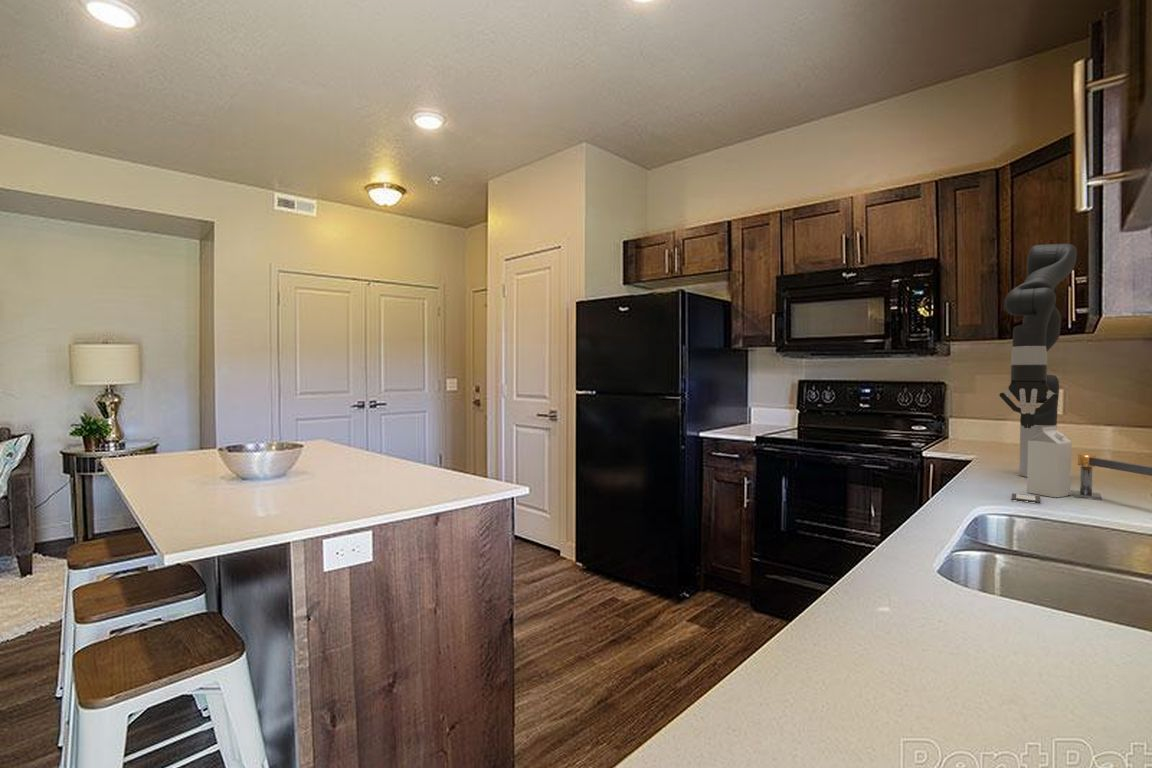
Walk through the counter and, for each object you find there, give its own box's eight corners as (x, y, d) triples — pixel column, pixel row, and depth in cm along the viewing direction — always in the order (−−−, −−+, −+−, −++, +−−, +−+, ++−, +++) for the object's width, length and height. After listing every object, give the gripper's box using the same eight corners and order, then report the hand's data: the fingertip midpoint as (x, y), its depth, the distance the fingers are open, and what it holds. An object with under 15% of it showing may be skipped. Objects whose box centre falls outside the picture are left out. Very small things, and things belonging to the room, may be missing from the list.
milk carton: (1026, 493, 160) (1028, 426, 159) (1040, 490, 163) (1042, 425, 162) (1056, 498, 153) (1058, 428, 153) (1070, 495, 156) (1072, 427, 156)
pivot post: (1070, 493, 160) (1071, 464, 159) (1099, 496, 156) (1100, 466, 156) (1072, 496, 155) (1072, 467, 155) (1101, 499, 151) (1102, 469, 151)
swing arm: (1074, 464, 157) (1074, 454, 157) (1086, 464, 157) (1086, 454, 157) (1181, 483, 131) (1181, 471, 131) (1195, 483, 131) (1195, 471, 131)
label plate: (1011, 495, 157) (1011, 492, 157) (1039, 498, 153) (1039, 495, 153) (1011, 500, 150) (1011, 498, 150) (1040, 504, 147) (1040, 501, 147)
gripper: (997, 363, 152) (996, 427, 152) (1062, 363, 144) (1060, 430, 144) (998, 363, 158) (997, 425, 158) (1060, 363, 150) (1059, 428, 150)
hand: (1027, 427), depth 151 cm, fingers closed
